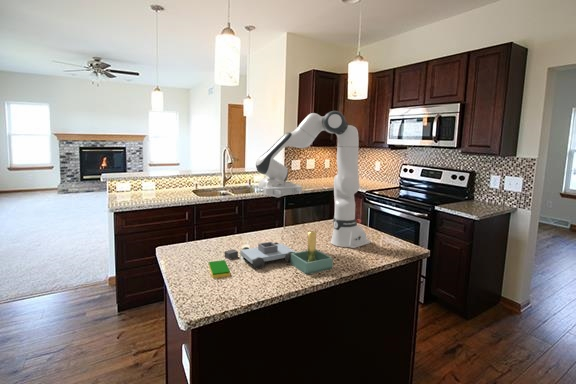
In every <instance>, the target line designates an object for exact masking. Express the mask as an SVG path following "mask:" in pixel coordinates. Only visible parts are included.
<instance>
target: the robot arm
mask: <svg viewBox="0 0 576 384" xmlns="http://www.w3.org/2000/svg"><path fill="white" fill-rule="evenodd" d="M321 132H325V133H328V134H335V135H336V137H337V144H336V145H337V147H336V149H337V150H336V166H337V167H336V168H337V174H336V175H334V177H333V196H334V197H333V199H334V215H333V222H332V223H333V224H332V225H333V229H332V230H333V231H332V236H331V239H330V244H332V246H336V247H342V248H350V249H351V248H352V249H356V248H359V247H362V246H365V245H369V244H371V240H370V239H368V238H367V233H366V231H365V230H364V229H363V228H362V227H360V226H359V223H361V222H362V220H361V219H360V218H356V201H355V194H356V193H357V192H358V191H359V189H360V178H359V177H360V176H359V173H360V172H359V147H360V146H359V145H360V144H359V132H358V128H357V127H355V126H354V125H351V124H350V125H349V124H348V122H347V120H346V117H345V116H344V114H343V113H341V112H340V111H337V110H332V111H329V112H327V113H325V115H324V116H321V115H320V114H318V113H315V112H312V113H309V114H307V116H306V117H305V118H304V119H303V120H302V121H301V122H300V123H299V124H298V126H297V127H296V128H295V129H294V130H293V131H291V132H285V133H284V134H283V135H282V136H281V137H279V139H278V140H276V142H274V144H273V145H271V147H270V148H269V149H267V151H266V152H264V153H263V154H262V155H260V156H259V157H258V159H257V160H256V162H255V167H256V171H257V172H258V173H260V174H262V175H264V176H265V177H262V178H260V180H259V181H258V187H259V191H260V192H261V193H263V195H265V196H271V197H275V198H281V197H284V196H288V195H297V194H299V195H300V194H302V192H303V186H302V185H300V184H297V183H293V182H292V181H287V179H288V177H289V170H288V167H286V166H285V165H284V164H282V163H281V162H278V161H277V160H276V159H274V158H275V157H277V155H278V154H279V153H280V152H281V151H282V150H283V149H284V148H287V147H292V148H297V149H305V148H308V147H309V146H311V145H312V144H313V142H314V141H315V140H316V138H317V137H318V136H319V134H320V133H321Z"/></svg>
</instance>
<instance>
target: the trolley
mask: <svg viewBox="0 0 576 384" xmlns="http://www.w3.org/2000/svg"><path fill="white" fill-rule="evenodd" d="M239 251H240V252H239V253H240V255H241V257H242V258H244V259H246V260H247V261H248V262H249V263H250V264H252V266H253V267H254V269H256V270H260V269H262V268H264V266H265V262H269V261H270V262H271V261H275V260H276V261H277V260H279V259H280V260H281V259H284V258H285V262H287V263H289V264H291V253H296V251H295V250H294V249H292V248H290V247H289V246H287V245H285V244H284V243H282V242H281V243H278V242H272V241H268V242H260V243H258V245H257V247H250V248H249V247H248V246H247V247H246V246H245V247H243V248H241V249H240V250H239Z"/></svg>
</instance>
